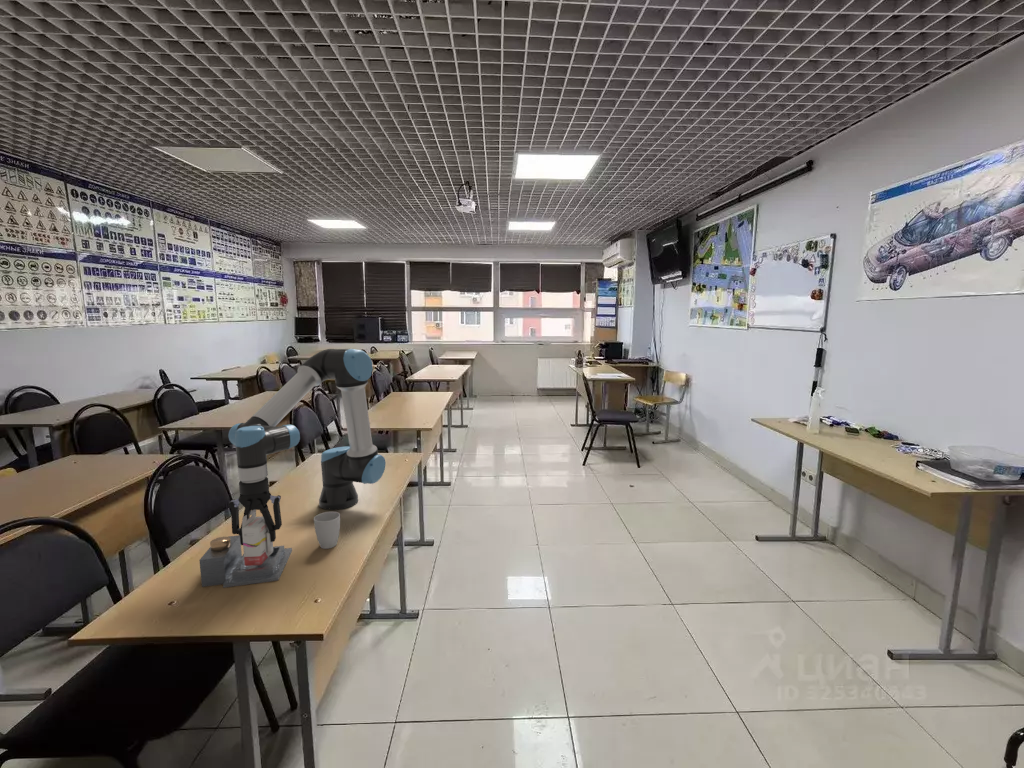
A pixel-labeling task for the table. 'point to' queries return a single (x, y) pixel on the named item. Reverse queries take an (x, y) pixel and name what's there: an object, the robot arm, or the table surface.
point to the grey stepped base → (239, 564)
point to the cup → (327, 529)
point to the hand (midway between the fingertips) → (259, 552)
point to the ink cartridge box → (254, 539)
